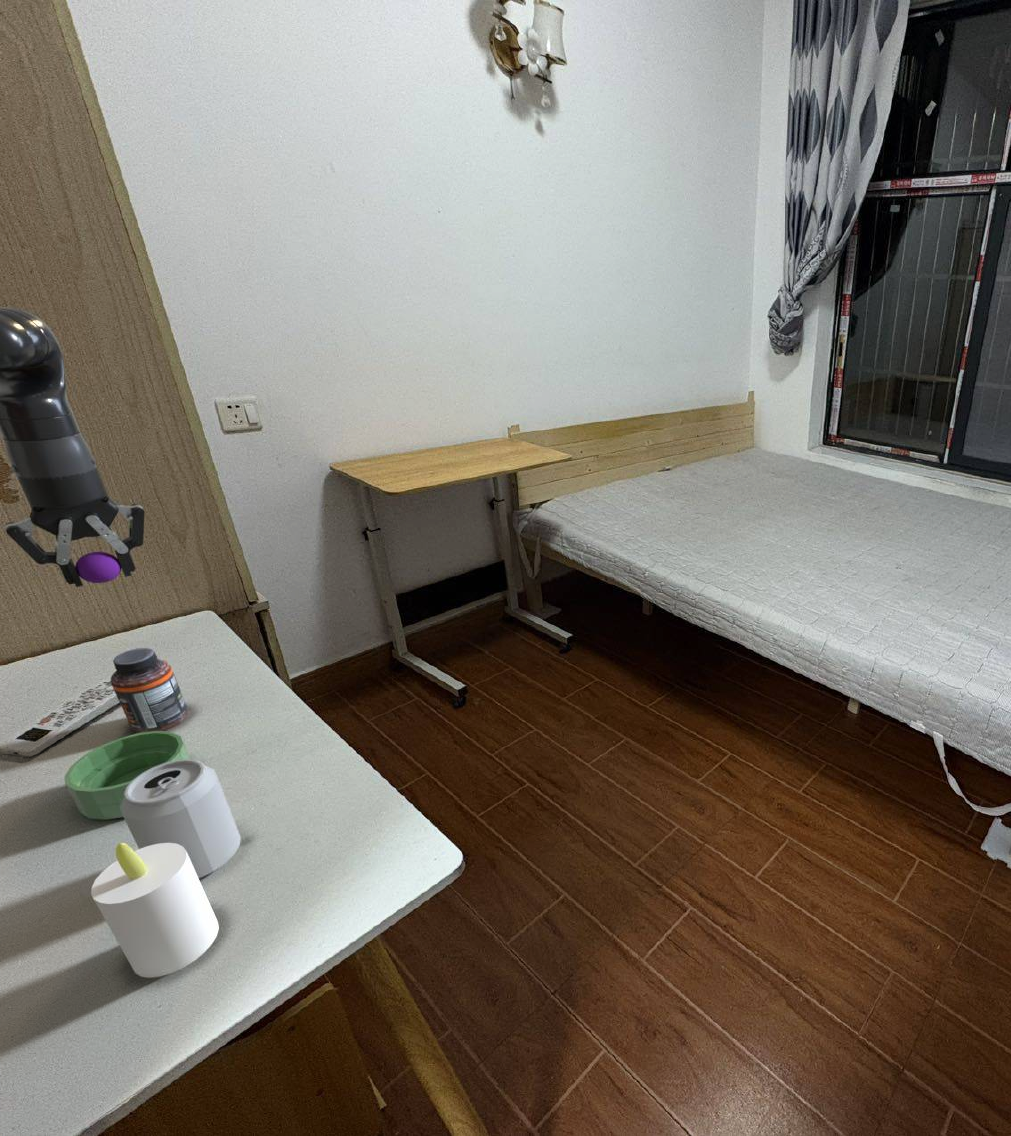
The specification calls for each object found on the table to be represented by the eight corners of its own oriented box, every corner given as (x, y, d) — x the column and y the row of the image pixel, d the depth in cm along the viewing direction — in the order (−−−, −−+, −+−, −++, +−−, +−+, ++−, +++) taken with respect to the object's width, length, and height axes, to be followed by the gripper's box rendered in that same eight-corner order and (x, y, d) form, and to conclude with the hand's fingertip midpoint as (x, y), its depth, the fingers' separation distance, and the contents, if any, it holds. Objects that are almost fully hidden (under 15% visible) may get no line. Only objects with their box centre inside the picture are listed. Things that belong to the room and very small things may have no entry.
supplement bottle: (126, 723, 86) (96, 655, 81) (181, 703, 90) (155, 638, 85) (140, 742, 83) (109, 673, 78) (196, 720, 87) (170, 654, 82)
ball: (73, 588, 88) (60, 559, 86) (98, 574, 92) (87, 546, 90) (110, 588, 89) (98, 559, 87) (134, 574, 93) (123, 546, 91)
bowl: (55, 826, 70) (37, 793, 68) (125, 761, 80) (111, 731, 78) (157, 821, 72) (142, 789, 70) (214, 759, 81) (203, 729, 79)
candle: (222, 903, 64) (176, 796, 58) (216, 957, 59) (165, 847, 53) (139, 933, 61) (81, 823, 54) (126, 992, 56) (61, 880, 49)
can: (224, 822, 73) (193, 743, 68) (256, 852, 70) (225, 772, 64) (141, 867, 67) (101, 784, 62) (172, 903, 64) (131, 819, 58)
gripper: (124, 453, 90) (163, 558, 98) (-27, 469, 80) (29, 585, 88) (133, 465, 86) (173, 574, 93) (-25, 484, 76) (34, 604, 83)
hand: (103, 579), depth 90 cm, fingers closed on ball, 4 cm apart
